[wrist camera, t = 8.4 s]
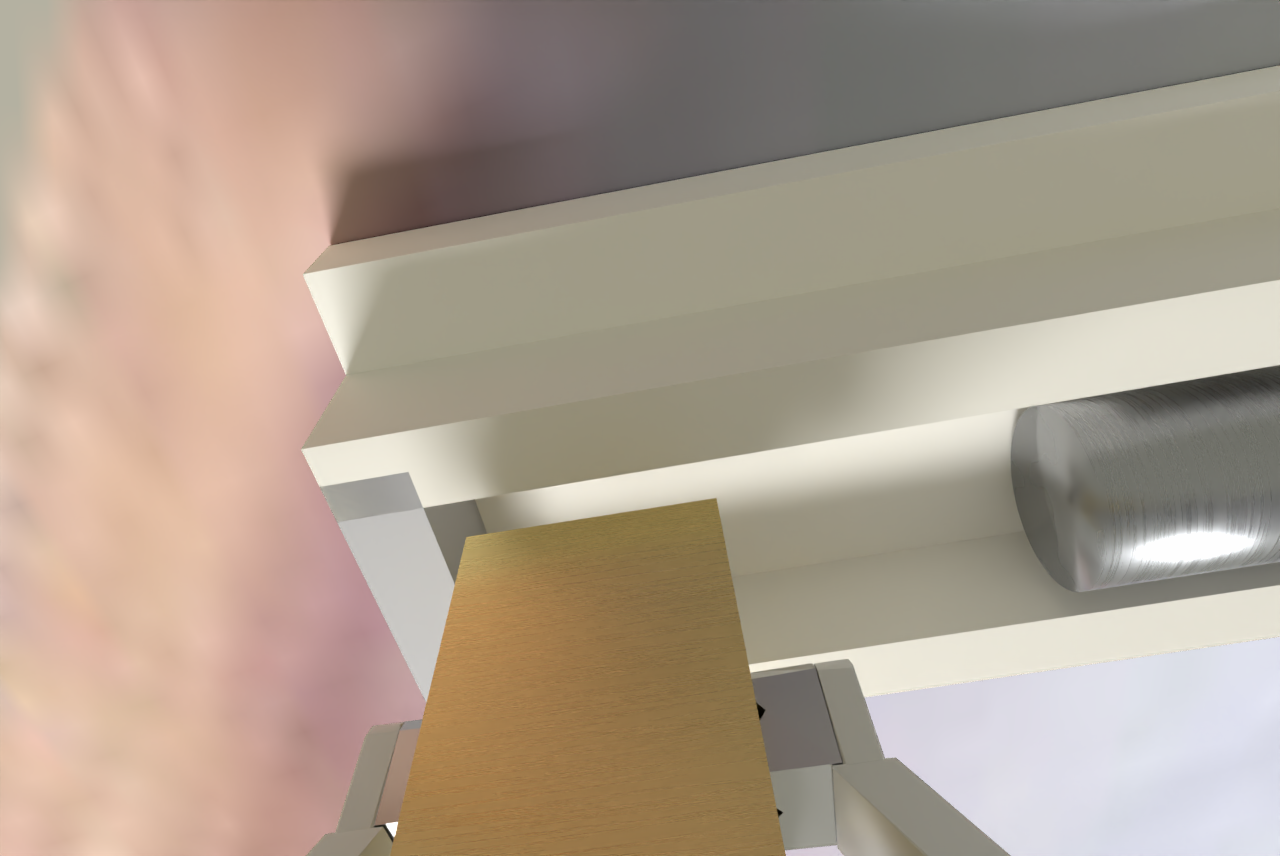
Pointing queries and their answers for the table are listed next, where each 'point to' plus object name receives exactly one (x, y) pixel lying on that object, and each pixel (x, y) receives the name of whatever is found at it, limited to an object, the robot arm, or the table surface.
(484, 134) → the table surface
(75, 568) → the table surface
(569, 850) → the block
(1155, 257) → the cradle
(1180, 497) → the shaft
